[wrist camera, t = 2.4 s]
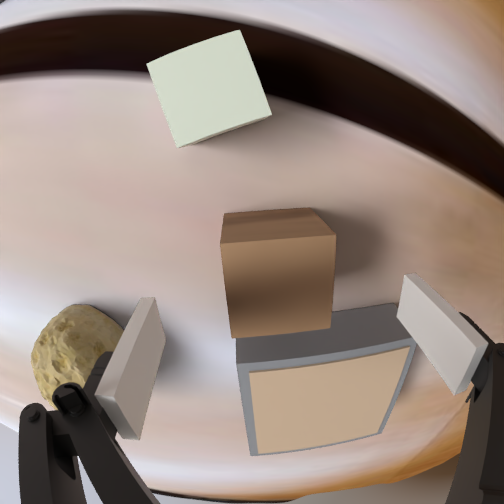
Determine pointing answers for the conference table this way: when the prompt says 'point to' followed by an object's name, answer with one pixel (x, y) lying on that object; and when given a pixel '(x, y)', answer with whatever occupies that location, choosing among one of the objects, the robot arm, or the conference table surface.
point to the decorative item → (72, 347)
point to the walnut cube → (277, 271)
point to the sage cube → (209, 89)
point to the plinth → (323, 381)
